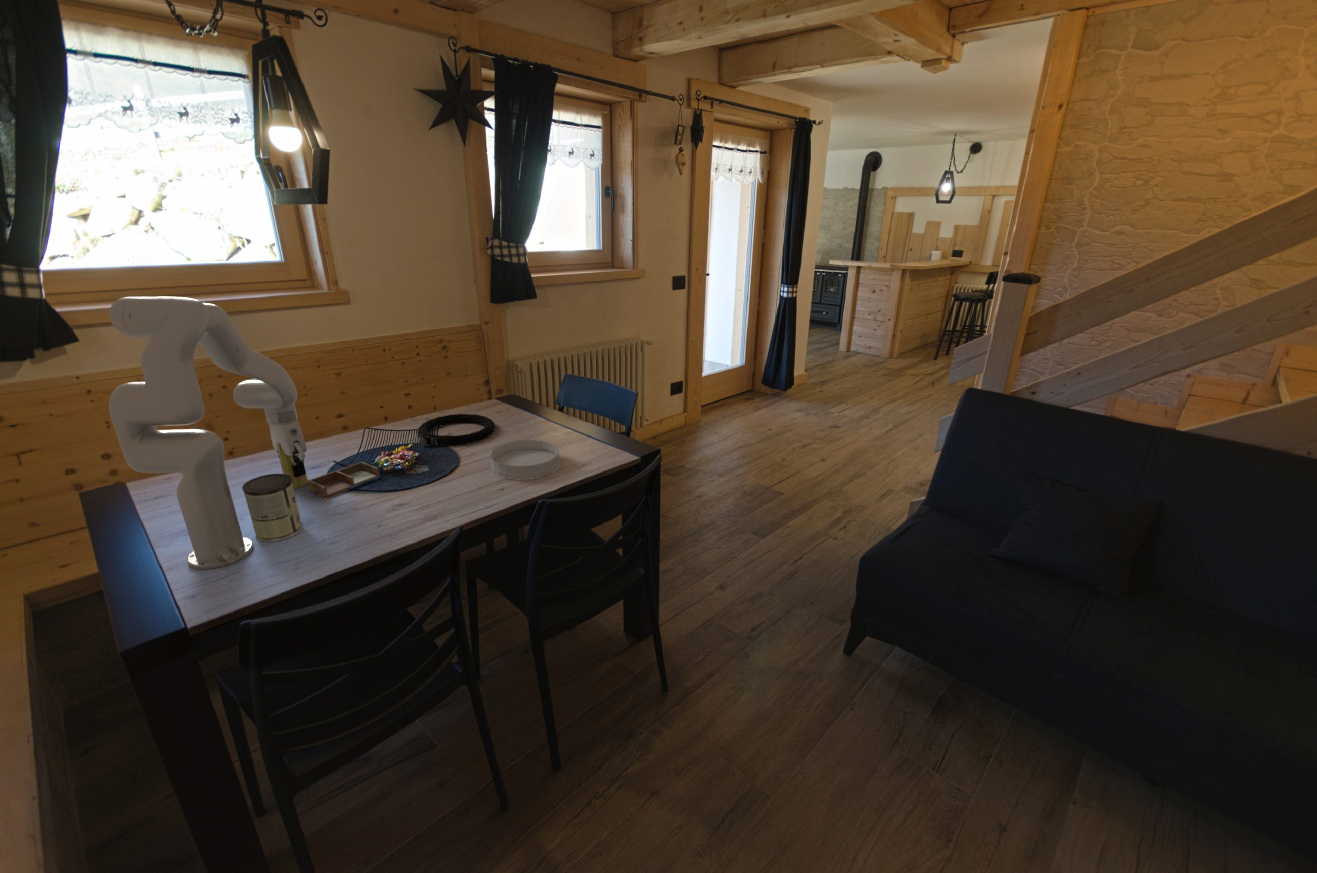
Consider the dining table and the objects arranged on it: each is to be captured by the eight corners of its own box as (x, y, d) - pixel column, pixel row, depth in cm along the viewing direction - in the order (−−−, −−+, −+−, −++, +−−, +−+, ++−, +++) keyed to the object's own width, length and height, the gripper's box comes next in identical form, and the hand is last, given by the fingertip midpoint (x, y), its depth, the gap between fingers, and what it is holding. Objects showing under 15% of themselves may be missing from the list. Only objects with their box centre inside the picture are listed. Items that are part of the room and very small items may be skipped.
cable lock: (510, 420, 220) (450, 445, 196) (510, 429, 222) (451, 455, 197) (457, 408, 232) (393, 430, 207) (457, 417, 234) (395, 440, 209)
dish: (567, 455, 199) (566, 441, 197) (550, 483, 179) (549, 468, 177) (504, 451, 201) (503, 438, 199) (480, 478, 181) (479, 464, 179)
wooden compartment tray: (379, 478, 178) (378, 467, 177) (326, 498, 165) (323, 487, 164) (363, 471, 183) (361, 461, 181) (309, 491, 169) (307, 480, 168)
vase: (282, 489, 170) (271, 444, 165) (288, 480, 175) (278, 437, 170) (305, 487, 171) (295, 443, 166) (311, 479, 177) (301, 435, 172)
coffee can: (251, 530, 148) (238, 481, 143) (296, 517, 155) (285, 469, 150) (260, 547, 141) (246, 495, 136) (307, 532, 148) (296, 483, 143)
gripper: (311, 418, 164) (323, 475, 171) (279, 406, 173) (292, 462, 179) (283, 425, 158) (297, 485, 165) (252, 413, 167) (266, 470, 173)
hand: (294, 472), depth 172 cm, fingers closed on vase, 5 cm apart
